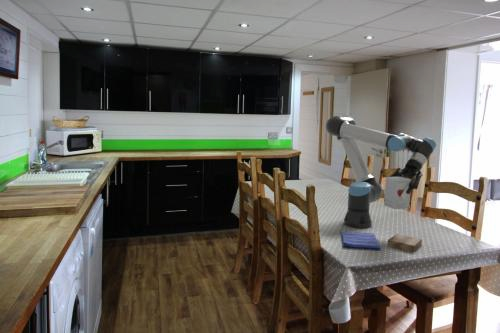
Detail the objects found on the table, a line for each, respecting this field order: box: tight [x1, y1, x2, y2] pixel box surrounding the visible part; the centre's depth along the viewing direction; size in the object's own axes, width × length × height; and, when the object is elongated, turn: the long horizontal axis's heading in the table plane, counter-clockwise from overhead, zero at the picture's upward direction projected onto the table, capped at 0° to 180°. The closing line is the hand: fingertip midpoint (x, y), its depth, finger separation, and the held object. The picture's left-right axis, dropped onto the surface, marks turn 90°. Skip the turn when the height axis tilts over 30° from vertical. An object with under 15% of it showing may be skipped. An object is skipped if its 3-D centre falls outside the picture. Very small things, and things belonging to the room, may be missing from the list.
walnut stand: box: [387, 233, 423, 253], centre depth 183 cm, size 12×12×3 cm
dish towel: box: [340, 229, 382, 251], centre depth 189 cm, size 17×24×3 cm
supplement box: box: [383, 176, 411, 210], centre depth 196 cm, size 9×9×15 cm
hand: (393, 195), depth 195 cm, fingers closed on supplement box, 10 cm apart
